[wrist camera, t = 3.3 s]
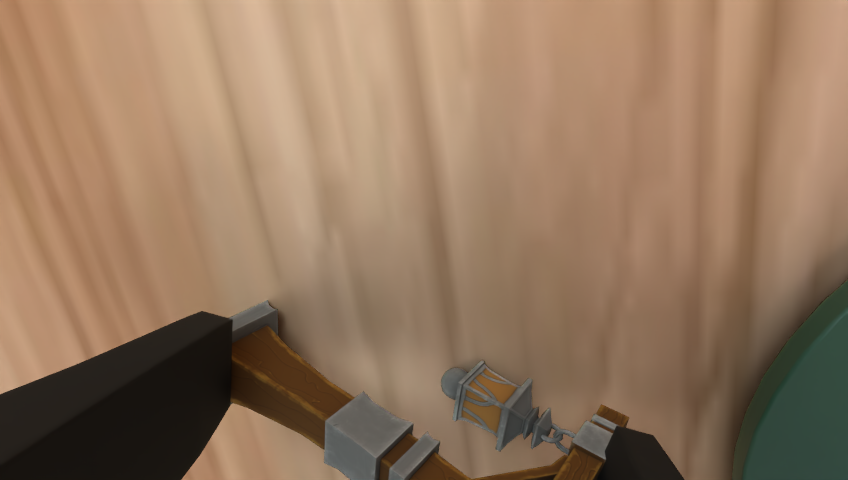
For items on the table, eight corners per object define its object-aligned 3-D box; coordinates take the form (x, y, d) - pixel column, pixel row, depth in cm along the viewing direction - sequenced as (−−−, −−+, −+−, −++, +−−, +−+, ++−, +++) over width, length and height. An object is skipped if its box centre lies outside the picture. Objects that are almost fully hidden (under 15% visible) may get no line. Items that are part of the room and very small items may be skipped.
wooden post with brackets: (659, 487, 10) (579, 734, 6) (345, 323, 14) (187, 416, 10) (689, 413, 9) (617, 646, 5) (348, 262, 13) (179, 340, 9)
